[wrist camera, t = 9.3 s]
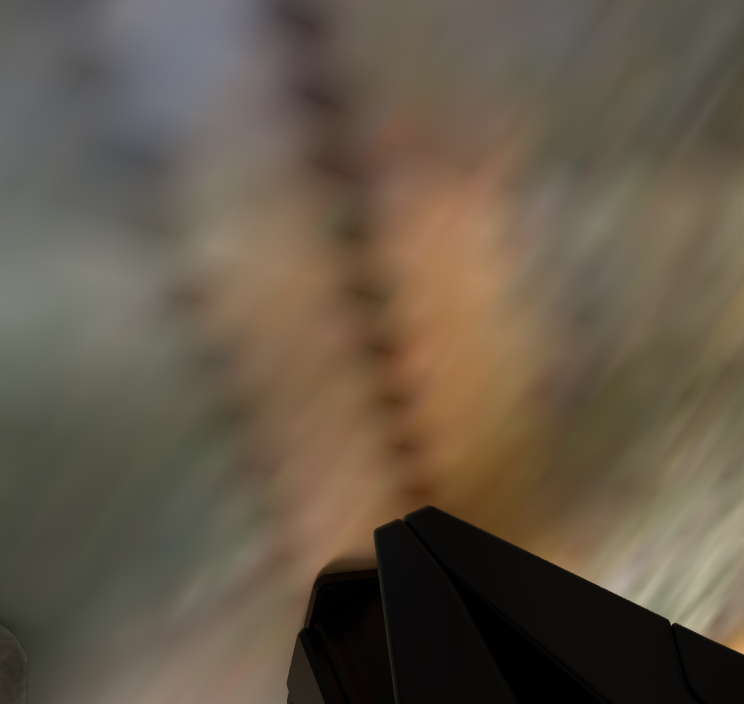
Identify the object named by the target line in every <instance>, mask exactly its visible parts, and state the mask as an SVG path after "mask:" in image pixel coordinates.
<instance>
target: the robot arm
mask: <svg viewBox="0 0 744 704" xmlns="http://www.w3.org/2000/svg"><path fill="white" fill-rule="evenodd" d="M374 543H375V550H376V558H377V565H378V570H367V571H356V572H345V573H334V574H327V575H323V576H321V577H320V578H318V579H317V580H316V581H315V583H314V585H313V589H312V593H311V597H310V602H309V606H308V610H307V615H306V619H305V623H304V628H302V629H301V631H300V632H299V634H298V635H297V639H296V644H295V648H294V653H293V657H292V661H291V666H290V670H289V675H288V679H287V687H288V690H289V693H288V698H287V704H744V654H741V653H739V652H737V651H735V650H733V649H730V648H728V647H726V646H724V645H722V644H719V643H717V642H715V641H713V640H711V639H708V638H706V637H704V636H702V635H700V634H698V633H696V632H694V631H692V630H690V629H688V628H686V627H684V626H681V625H679V624H677V623H673V624H672V625H671V624H670V621H669V620H668V619H666V618H664V617H662V616H660V615H658V614H656V613H654V612H652V611H650V610H648V609H646V608H644V607H642V606H639V605H637V604H635V603H633V602H631V601H629V600H627V599H625V598H623V597H621V596H619V595H617V594H615V593H613V592H610V591H608V590H606V589H604V588H602V587H600V586H598V585H596V584H594V583H592V582H590V581H588V580H586V579H584V578H582V577H579V576H577V575H575V574H573V573H571V572H569V571H567V570H565V569H563V568H561V567H559V566H557V565H555V564H553V563H550V562H548V561H546V560H544V559H542V558H540V557H538V556H536V555H534V554H532V553H530V552H528V551H526V550H524V549H521V548H519V547H517V546H515V545H513V544H511V543H509V542H507V541H505V540H503V539H501V538H499V537H497V536H495V535H493V534H490V533H488V532H486V531H484V530H482V529H480V528H478V527H476V526H474V525H472V524H470V523H468V522H466V521H464V520H461V519H459V518H457V517H455V516H453V515H451V514H449V513H447V512H445V511H443V510H441V509H439V508H437V507H434V506H430V505H428V506H425V507H422V508H420V509H418V510H416V511H413V512H411V513H409V514H407V515H405V517H404V518H403V520H401V519H395V520H393V521H391V522H389V523H387V524H384V525H382V526H380V527H378V528H376V529H375V530H374ZM329 587H331V588H329ZM326 588H329V589H328V590H325V589H326ZM324 590H325V591H324Z"/></svg>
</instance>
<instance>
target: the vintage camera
mask: <svg viewBox="0 0 744 704" xmlns="http://www.w3.org/2000/svg"><path fill="white" fill-rule="evenodd" d="M27 684H28V658H27V656H26V654H25V652H24V649H23V647H22V646H21V644H20V643H19V641H18V640H17V639H16V637H15V636H14V635H13V633H12V632H11V631H10V630H8V629H6V628H5V627H3V626H2V625H0V704H26V698H27Z"/></svg>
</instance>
